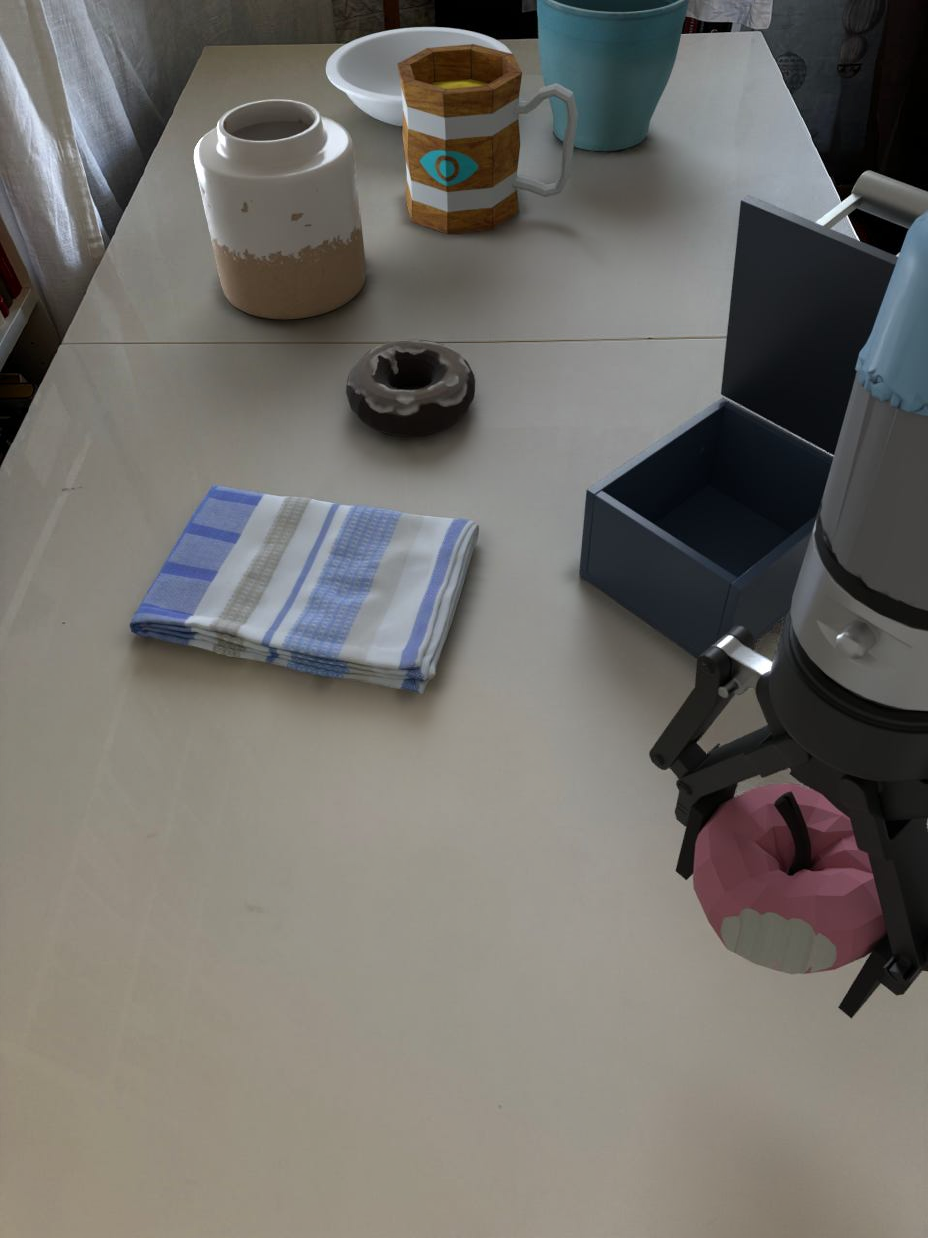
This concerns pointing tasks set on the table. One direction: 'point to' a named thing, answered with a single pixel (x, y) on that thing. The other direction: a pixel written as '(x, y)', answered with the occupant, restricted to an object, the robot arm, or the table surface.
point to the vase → (282, 209)
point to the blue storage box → (706, 526)
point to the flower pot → (608, 64)
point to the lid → (808, 307)
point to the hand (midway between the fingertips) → (774, 923)
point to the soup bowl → (390, 65)
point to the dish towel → (313, 586)
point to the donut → (417, 407)
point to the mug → (470, 137)
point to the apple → (787, 881)
